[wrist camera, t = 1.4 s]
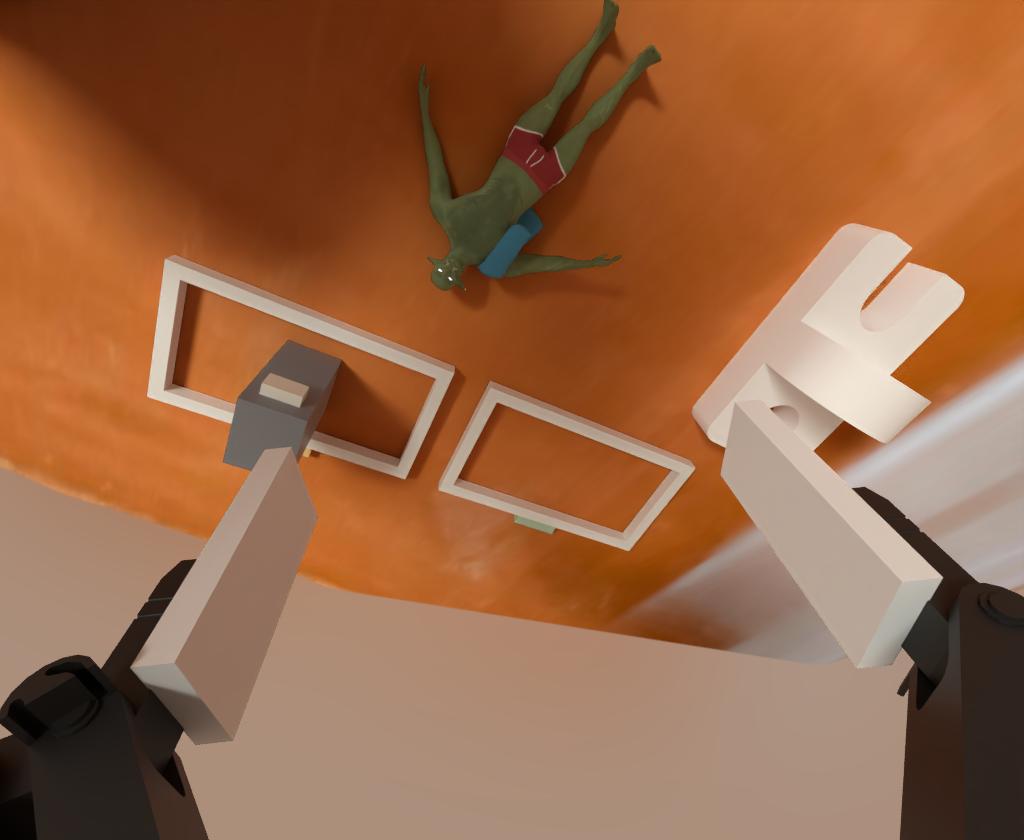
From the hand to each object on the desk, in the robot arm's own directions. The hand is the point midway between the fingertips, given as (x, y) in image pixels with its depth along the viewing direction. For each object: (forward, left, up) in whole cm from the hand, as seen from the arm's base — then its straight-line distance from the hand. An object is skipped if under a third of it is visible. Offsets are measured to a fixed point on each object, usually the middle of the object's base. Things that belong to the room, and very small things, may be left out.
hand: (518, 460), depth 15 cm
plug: (-10, -13, -23) cm, 28 cm away
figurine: (-1, +7, -23) cm, 24 cm away
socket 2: (+13, -13, -23) cm, 30 cm away
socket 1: (-10, -13, -23) cm, 28 cm away
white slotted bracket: (+25, +5, -23) cm, 35 cm away
